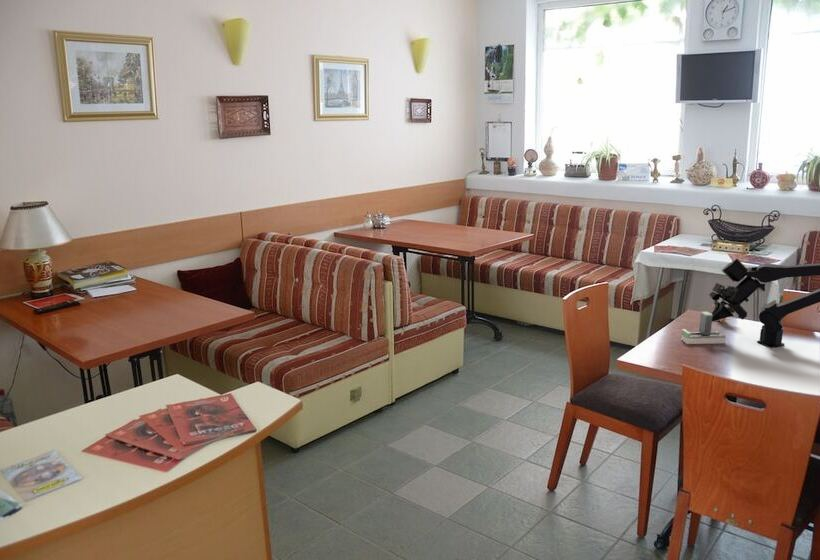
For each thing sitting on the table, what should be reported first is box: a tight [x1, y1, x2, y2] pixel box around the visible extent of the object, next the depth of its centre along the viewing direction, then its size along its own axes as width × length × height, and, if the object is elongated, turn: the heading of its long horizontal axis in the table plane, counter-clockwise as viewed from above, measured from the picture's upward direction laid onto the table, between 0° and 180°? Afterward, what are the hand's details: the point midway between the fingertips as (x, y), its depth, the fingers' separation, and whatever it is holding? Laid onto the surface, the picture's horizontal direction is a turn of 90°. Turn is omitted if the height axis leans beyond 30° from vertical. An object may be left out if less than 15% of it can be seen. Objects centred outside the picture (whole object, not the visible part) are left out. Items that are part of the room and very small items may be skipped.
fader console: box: [680, 328, 726, 345], centre depth 252 cm, size 14×5×4 cm, turn 93°
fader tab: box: [698, 311, 713, 336], centre depth 251 cm, size 3×4×8 cm
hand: (709, 321), depth 251 cm, fingers closed
